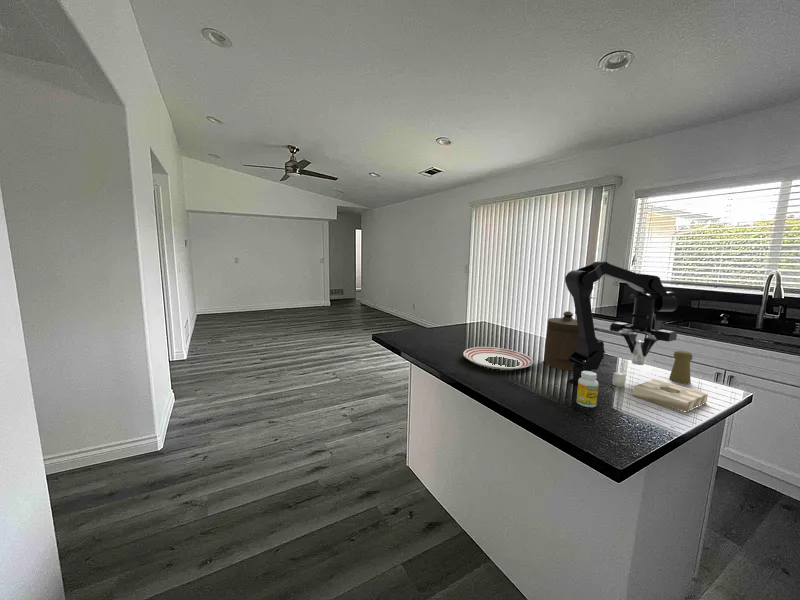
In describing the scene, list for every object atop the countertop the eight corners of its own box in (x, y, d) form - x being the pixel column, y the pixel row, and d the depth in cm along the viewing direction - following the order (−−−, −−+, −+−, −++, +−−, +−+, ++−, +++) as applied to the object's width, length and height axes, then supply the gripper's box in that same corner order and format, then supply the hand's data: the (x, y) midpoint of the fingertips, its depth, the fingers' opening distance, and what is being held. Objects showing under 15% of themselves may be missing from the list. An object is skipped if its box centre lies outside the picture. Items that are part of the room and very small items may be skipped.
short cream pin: (620, 387, 116) (622, 376, 115) (610, 384, 119) (611, 373, 118) (626, 385, 117) (627, 374, 117) (615, 382, 120) (617, 371, 120)
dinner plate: (538, 361, 144) (539, 353, 144) (524, 380, 121) (524, 371, 121) (476, 350, 159) (476, 343, 158) (452, 365, 136) (452, 357, 135)
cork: (682, 378, 126) (686, 349, 125) (694, 384, 120) (699, 354, 119) (665, 377, 127) (668, 348, 125) (676, 383, 121) (680, 353, 119)
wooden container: (590, 366, 138) (595, 312, 135) (573, 373, 129) (578, 316, 126) (554, 357, 149) (558, 307, 147) (536, 363, 140) (540, 310, 137)
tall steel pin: (640, 365, 118) (643, 343, 117) (629, 362, 121) (632, 340, 120) (645, 364, 120) (648, 341, 119) (635, 361, 123) (637, 339, 122)
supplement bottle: (587, 399, 105) (590, 369, 104) (600, 406, 100) (604, 375, 99) (572, 400, 104) (574, 370, 103) (585, 408, 99) (588, 376, 98)
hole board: (685, 412, 97) (687, 402, 97) (632, 395, 109) (633, 386, 109) (706, 403, 104) (707, 393, 104) (654, 387, 116) (655, 378, 116)
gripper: (687, 314, 114) (681, 359, 116) (627, 306, 130) (623, 346, 132) (671, 316, 109) (665, 363, 111) (611, 308, 125) (606, 349, 127)
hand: (638, 355), depth 120 cm, fingers closed on tall steel pin, 3 cm apart
